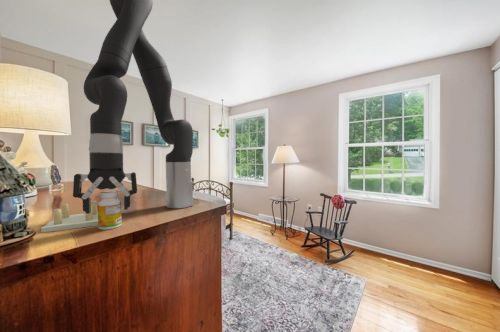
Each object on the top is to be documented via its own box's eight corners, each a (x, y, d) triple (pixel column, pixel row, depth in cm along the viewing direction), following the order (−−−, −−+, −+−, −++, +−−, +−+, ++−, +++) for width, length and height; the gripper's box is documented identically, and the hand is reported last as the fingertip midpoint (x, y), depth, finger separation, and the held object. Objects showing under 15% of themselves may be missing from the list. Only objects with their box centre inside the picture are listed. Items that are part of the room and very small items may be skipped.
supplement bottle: (97, 226, 58) (95, 191, 57) (119, 222, 61) (118, 189, 61) (99, 231, 54) (97, 194, 53) (123, 226, 57) (122, 191, 57)
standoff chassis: (104, 215, 69) (104, 199, 69) (98, 225, 59) (98, 206, 59) (57, 220, 64) (56, 203, 64) (41, 232, 53) (40, 212, 53)
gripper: (136, 152, 63) (137, 205, 64) (77, 151, 57) (78, 211, 57) (136, 151, 57) (137, 211, 57) (68, 150, 50) (70, 217, 50)
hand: (107, 211), depth 57 cm, fingers open, 8 cm apart
